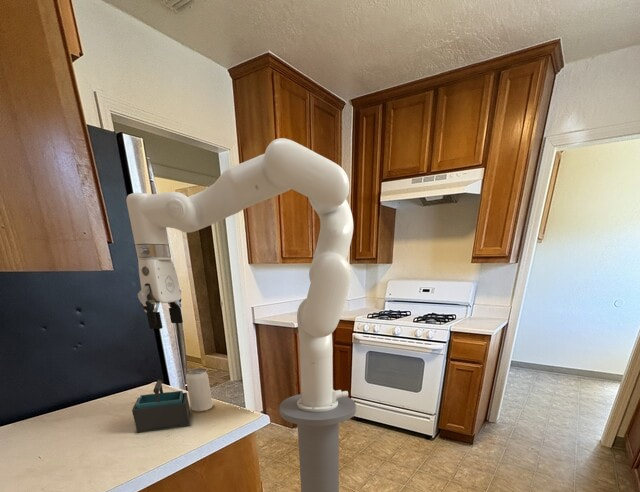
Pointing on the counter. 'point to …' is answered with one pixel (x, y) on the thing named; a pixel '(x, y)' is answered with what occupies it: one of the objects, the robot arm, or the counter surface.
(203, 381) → the can
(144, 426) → the lower bin
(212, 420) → the counter surface
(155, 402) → the top bin
